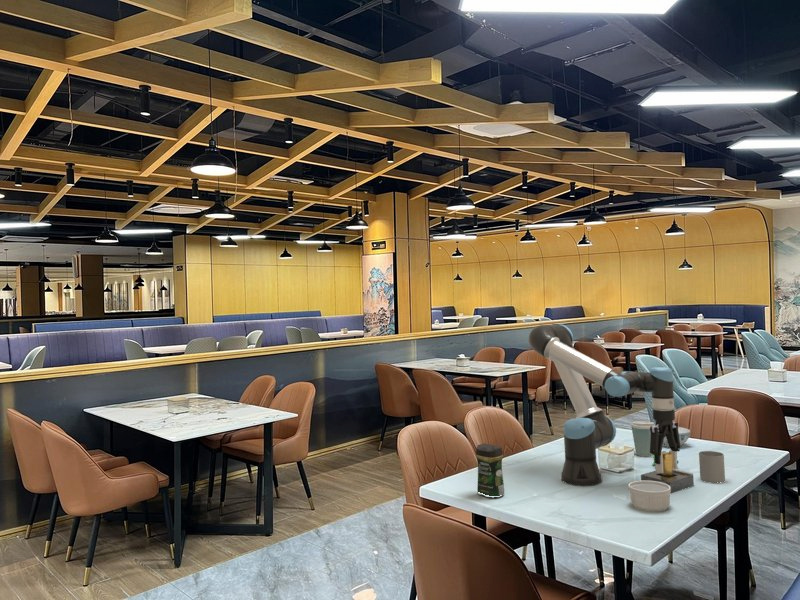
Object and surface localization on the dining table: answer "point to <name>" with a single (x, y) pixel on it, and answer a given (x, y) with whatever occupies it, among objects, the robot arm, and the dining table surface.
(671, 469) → the brass cylinder peg
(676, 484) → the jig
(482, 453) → the coffee jar
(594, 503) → the dining table surface
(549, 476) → the dining table surface
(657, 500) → the ramekin
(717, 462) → the cup
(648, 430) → the disposable coffee cup
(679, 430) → the chinaware
